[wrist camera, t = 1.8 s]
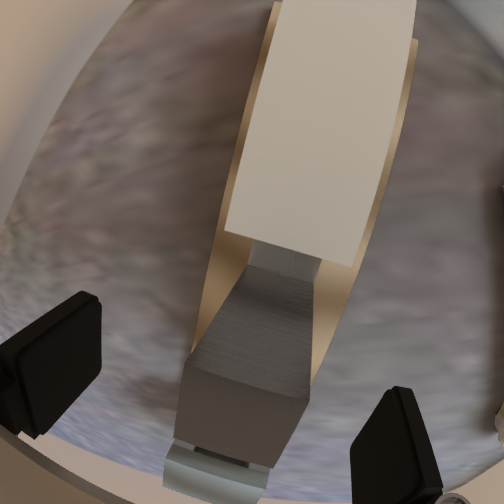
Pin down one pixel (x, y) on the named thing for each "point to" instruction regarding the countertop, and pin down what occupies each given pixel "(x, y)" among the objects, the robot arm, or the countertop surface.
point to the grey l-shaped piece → (253, 361)
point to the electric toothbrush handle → (500, 415)
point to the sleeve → (322, 125)
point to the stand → (221, 283)
